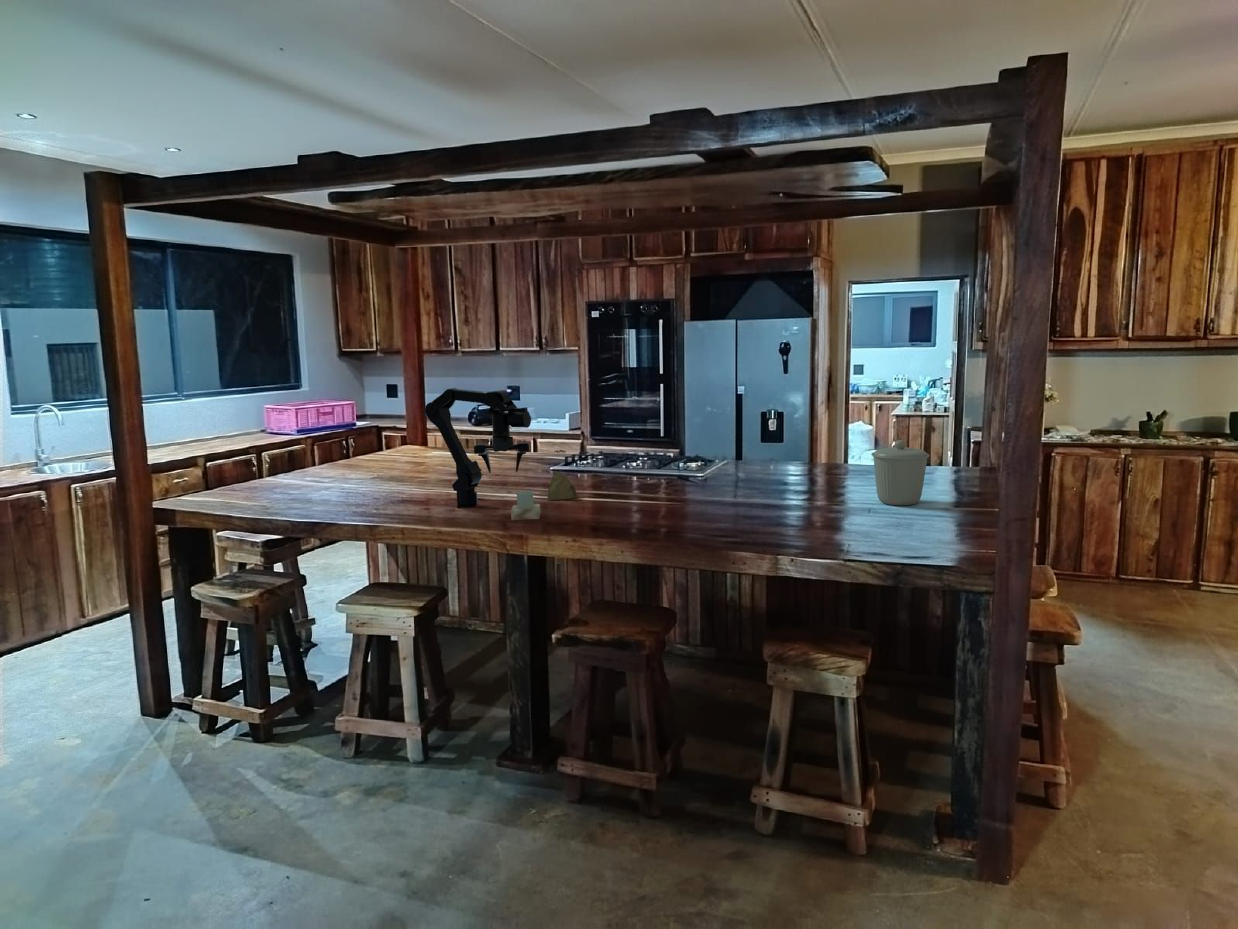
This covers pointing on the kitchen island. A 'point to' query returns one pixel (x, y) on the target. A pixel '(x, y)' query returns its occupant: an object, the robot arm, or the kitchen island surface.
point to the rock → (561, 488)
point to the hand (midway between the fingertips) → (503, 472)
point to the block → (525, 500)
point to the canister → (899, 474)
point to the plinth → (525, 513)
